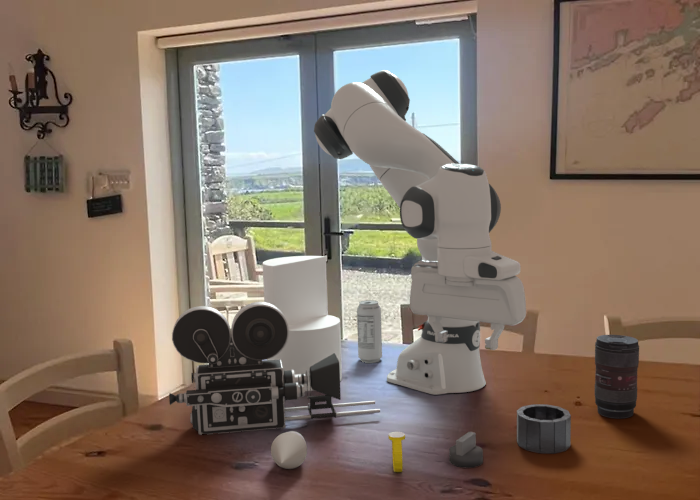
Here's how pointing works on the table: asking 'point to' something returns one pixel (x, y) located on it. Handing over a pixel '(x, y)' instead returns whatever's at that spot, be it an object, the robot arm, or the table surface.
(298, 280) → the cylinder
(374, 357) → the energy drink can
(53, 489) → the table surface
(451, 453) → the grey dial knob
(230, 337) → the film camera
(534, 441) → the faceted grey ring
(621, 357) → the camera lens
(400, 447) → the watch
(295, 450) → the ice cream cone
